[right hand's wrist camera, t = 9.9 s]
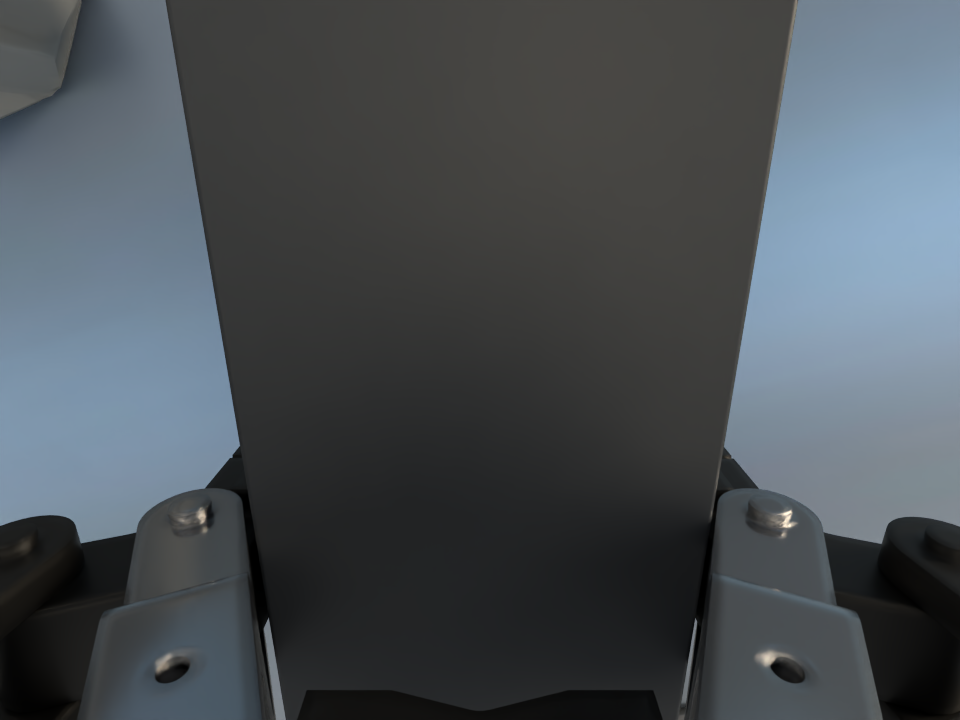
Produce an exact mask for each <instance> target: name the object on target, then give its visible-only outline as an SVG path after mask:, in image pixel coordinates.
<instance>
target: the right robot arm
mask: <svg viewBox="0 0 960 720" xmlns="http://www.w3.org/2000/svg"><path fill="white" fill-rule="evenodd" d="M268 618H269V615H268V609H267V603H266V597H265V591H264V585H263V579H262V573H261V567H260V561H259V555H258V549H257V543H256V537H255V531H254V525H253V519H252V513H251V507H250V501H249V495H248V489H247V483H246V478H245V472H244V466H243V460H242V454H241V448H240V447H239V448H238V449H237V450H236V452H235V453H234V454H233V458H230V459H229V460H228V461H227V462H226V464H225V465H224V466H223V467H222V468H221V470H220V471H219V472H218V473H217V475H216V476H215V477H214V478H213V479H212V481H211V482H210V483H209V484H208V485H207V487H206V488H205V489H198V490H192V491H189V492H185V493H181V494H178V495H175V496H173V497H171V498H168V499H166V500H164V501H162V502H160V503H159V504H157V505H156V506H154V507H153V508H151V509H150V510H149V511H148V512H147V513H146V514H145V515H144V516H143V517H142V518H141V520H140V521H139V524H138V527H137V532H136V533H132V534H128V535H123V536H118V537H112V538H107V539H102V540H97V541H91V542H86V543H80V539H79V536H78V532H77V529H76V526H75V524H74V522H73V521H72V520H70V519H69V518H66V517H62V516H54V515H47V516H36V517H30V518H26V519H21V520H18V521H14V522H11V523H8V524H5V525H2V526H0V720H276V717H275V709H274V701H273V693H272V685H271V677H270V669H269V661H268V653H267V645H266V639H265V633H264V626H265V624H266V622H267V620H268ZM695 618H696V620H697V627H696V633H695V639H694V645H693V653H692V661H691V669H690V677H689V685H688V693H687V701H686V708H680V712H679V718H678V720H960V527H959V526H956V525H953V524H950V523H946V522H943V521H939V520H934V519H929V518H922V517H903V518H898V519H895V520H893V521H891V522H890V523H889V524H888V526H887V528H886V532H885V535H884V538H883V542H882V544H878V543H873V542H868V541H862V540H857V539H852V538H847V537H841V536H836V535H832V534H828V533H824V532H823V527H822V524H821V521H820V520H819V518H818V517H817V516H816V515H815V514H814V513H813V512H812V511H811V510H810V509H809V508H807V507H806V506H804V505H803V504H801V503H800V502H798V501H796V500H794V499H792V498H789V497H787V496H785V495H782V494H779V493H775V492H771V491H768V490H762V489H759V488H758V487H757V486H756V485H755V484H754V482H753V481H752V480H751V479H750V478H749V476H748V475H747V474H746V473H745V472H744V470H743V469H742V468H741V467H740V466H739V465H738V463H737V462H736V461H735V460H734V459H731V455H730V454H729V453H728V451H727V450H726V449H725V448H723V454H722V460H721V466H720V472H719V478H718V484H717V490H716V496H715V502H714V508H713V514H712V520H711V526H710V532H709V538H708V544H707V550H706V556H705V562H704V568H703V574H702V580H701V586H700V592H699V598H698V604H697V610H696V616H695ZM297 720H663V718H662V715H661V712H660V709H659V706H658V703H657V700H656V697H655V694H654V691H653V690H566V691H562V692H558V693H554V694H550V695H546V696H542V697H538V698H534V699H530V700H526V701H522V702H518V703H514V704H510V705H506V706H502V707H498V708H494V709H490V710H485V711H475V710H470V709H466V708H462V707H458V706H454V705H450V704H446V703H442V702H438V701H434V700H430V699H426V698H422V697H418V696H414V695H410V694H406V693H402V692H398V691H394V690H307V691H306V694H305V697H304V700H303V703H302V706H301V709H300V712H299V715H298V718H297Z"/></svg>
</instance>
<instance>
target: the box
mask: <svg viewBox="0 0 960 720" xmlns="http://www.w3.org/2000/svg"><path fill="white" fill-rule="evenodd" d="M797 4H798V0H166V6H167V12H168V18H169V23H170V29H171V35H172V41H173V47H174V53H175V59H176V65H177V71H178V77H179V83H180V89H181V95H182V101H183V107H184V113H185V119H186V125H187V131H188V137H189V143H190V149H191V155H192V161H193V167H194V173H195V179H196V185H197V191H198V197H199V203H200V209H201V215H202V221H203V227H204V233H205V239H206V245H207V251H208V256H209V262H210V268H211V274H212V280H213V286H214V292H215V298H216V304H217V310H218V316H219V322H220V328H221V334H222V340H223V346H224V352H225V358H226V364H227V370H228V376H229V382H230V388H231V394H232V400H233V406H234V412H235V418H236V424H237V430H238V436H239V442H240V448H241V454H242V460H243V466H244V472H245V478H246V483H247V489H248V495H249V501H250V507H251V513H252V519H253V525H254V531H255V537H256V543H257V549H258V555H259V561H260V567H261V573H262V579H263V585H264V591H265V597H266V603H267V609H268V615H269V621H270V627H271V633H272V639H273V645H274V651H275V657H276V663H277V669H278V675H279V681H280V687H281V693H282V699H283V705H284V711H285V716H286V720H297V718H298V715H299V712H300V709H301V706H302V703H303V700H304V697H305V694H306V691H307V690H394V691H398V692H402V693H406V694H410V695H414V696H418V697H422V698H426V699H430V700H434V701H438V702H442V703H446V704H450V705H454V706H458V707H462V708H466V709H470V710H475V711H485V710H490V709H494V708H498V707H502V706H506V705H510V704H514V703H518V702H522V701H526V700H530V699H534V698H538V697H542V696H546V695H550V694H554V693H558V692H562V691H566V690H653V691H654V694H655V697H656V700H657V703H658V706H659V709H660V712H661V715H662V718H663V720H678V718H679V712H680V706H681V700H682V694H683V688H684V682H685V676H686V670H687V664H688V658H689V652H690V646H691V640H692V634H693V628H694V622H695V616H696V610H697V604H698V598H699V592H700V586H701V580H702V574H703V568H704V562H705V556H706V550H707V544H708V538H709V532H710V526H711V520H712V514H713V508H714V502H715V496H716V490H717V484H718V478H719V472H720V466H721V460H722V454H723V448H724V442H725V436H726V430H727V424H728V418H729V412H730V406H731V400H732V394H733V388H734V382H735V376H736V370H737V364H738V358H739V352H740V346H741V340H742V334H743V328H744V322H745V316H746V310H747V304H748V298H749V292H750V286H751V280H752V274H753V268H754V262H755V256H756V250H757V244H758V238H759V232H760V226H761V220H762V214H763V208H764V202H765V196H766V190H767V184H768V178H769V172H770V166H771V160H772V154H773V148H774V142H775V136H776V130H777V124H778V118H779V112H780V106H781V100H782V94H783V88H784V82H785V76H786V70H787V64H788V58H789V52H790V46H791V40H792V34H793V28H794V22H795V16H796V10H797Z"/></svg>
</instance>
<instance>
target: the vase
mask: <svg viewBox="0 0 960 720" xmlns="http://www.w3.org/2000/svg"><path fill="white" fill-rule="evenodd" d="M81 3H82V0H0V119H2V118H5V117H7V116H9V115H11V114H14V113H16V112H18V111H20V110H23V109H25V108H27V107H29V106H31V105H34V104H36V103H38V102H40V101H41V100H42V99H44V98H47V97H50V96H52V95H53V94H54V93H55V92H56V91H57V90H58V89H60V88H61V86H62V83H63V79H64V75H65V71H66V67H67V63H68V59H69V55H70V51H71V47H72V42H73V38H74V34H75V30H76V25H77V21H78V17H79V12H80V8H81Z"/></svg>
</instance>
